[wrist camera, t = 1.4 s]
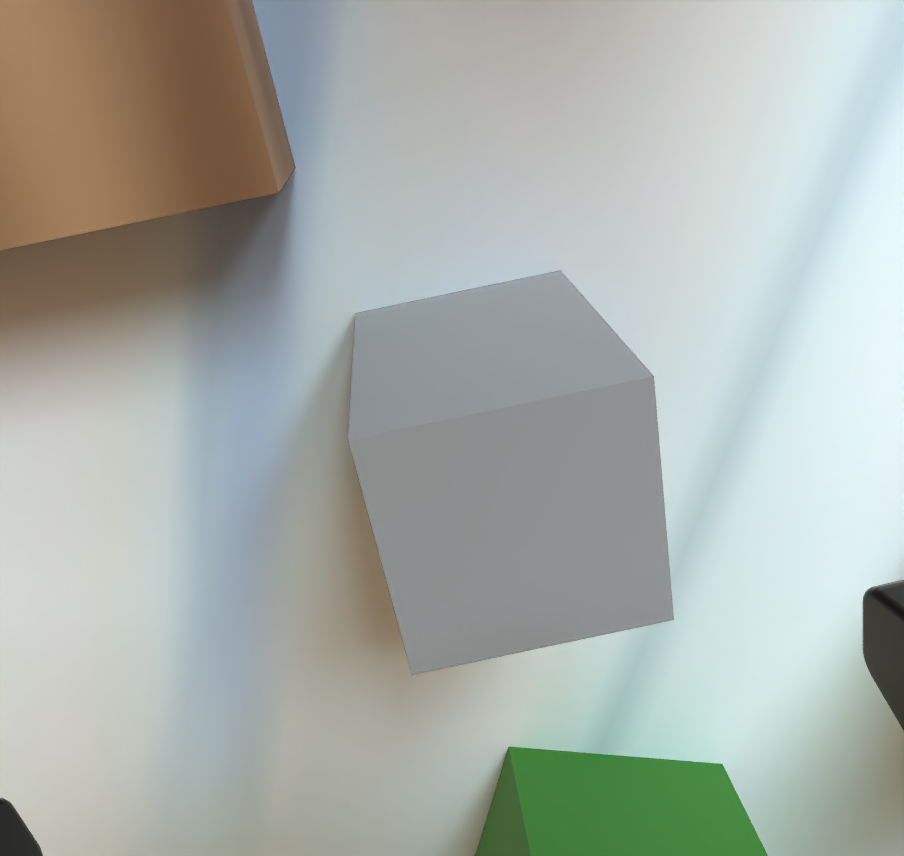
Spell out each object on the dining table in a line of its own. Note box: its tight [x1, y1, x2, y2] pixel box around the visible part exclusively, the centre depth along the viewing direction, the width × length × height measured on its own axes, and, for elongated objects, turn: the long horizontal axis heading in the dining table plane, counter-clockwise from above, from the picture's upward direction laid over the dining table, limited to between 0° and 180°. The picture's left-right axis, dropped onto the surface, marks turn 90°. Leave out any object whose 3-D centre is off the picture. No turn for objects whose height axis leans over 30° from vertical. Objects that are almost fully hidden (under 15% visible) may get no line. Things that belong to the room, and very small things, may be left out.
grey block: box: [348, 270, 674, 675], centre depth 17 cm, size 5×5×7 cm
